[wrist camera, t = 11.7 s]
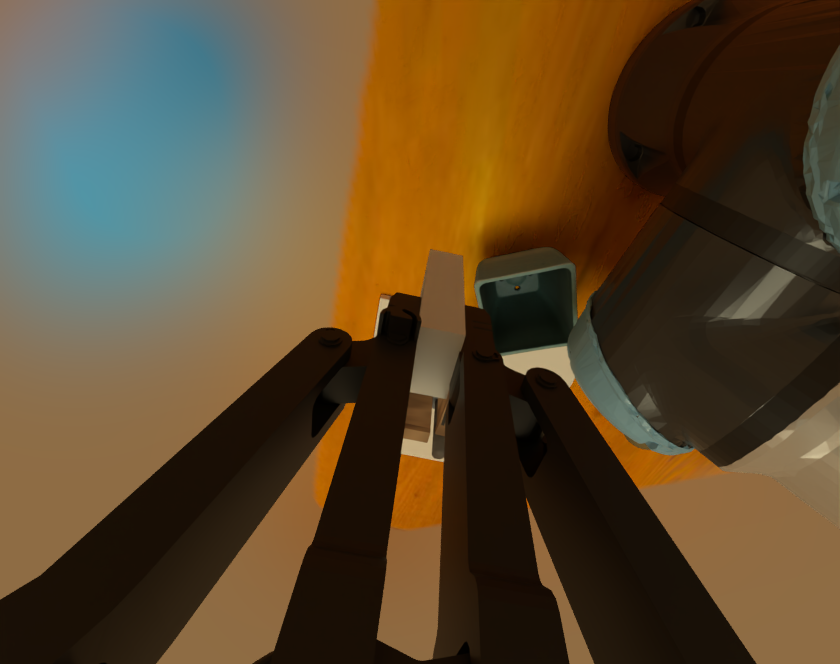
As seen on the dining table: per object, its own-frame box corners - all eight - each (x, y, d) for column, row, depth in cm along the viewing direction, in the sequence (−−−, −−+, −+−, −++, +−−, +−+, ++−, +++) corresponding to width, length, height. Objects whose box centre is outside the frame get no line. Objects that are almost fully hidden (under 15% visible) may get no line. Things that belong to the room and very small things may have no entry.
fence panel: (449, 398, 53) (449, 437, 47) (437, 395, 52) (434, 433, 47) (480, 323, 46) (484, 357, 40) (466, 319, 46) (467, 353, 40)
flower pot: (559, 301, 45) (579, 345, 38) (483, 314, 47) (488, 359, 39) (553, 228, 41) (575, 262, 33) (469, 246, 42) (472, 281, 35)
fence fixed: (448, 398, 53) (446, 451, 46) (445, 407, 54) (443, 460, 47) (371, 382, 53) (357, 433, 45) (370, 392, 54) (356, 443, 46)
